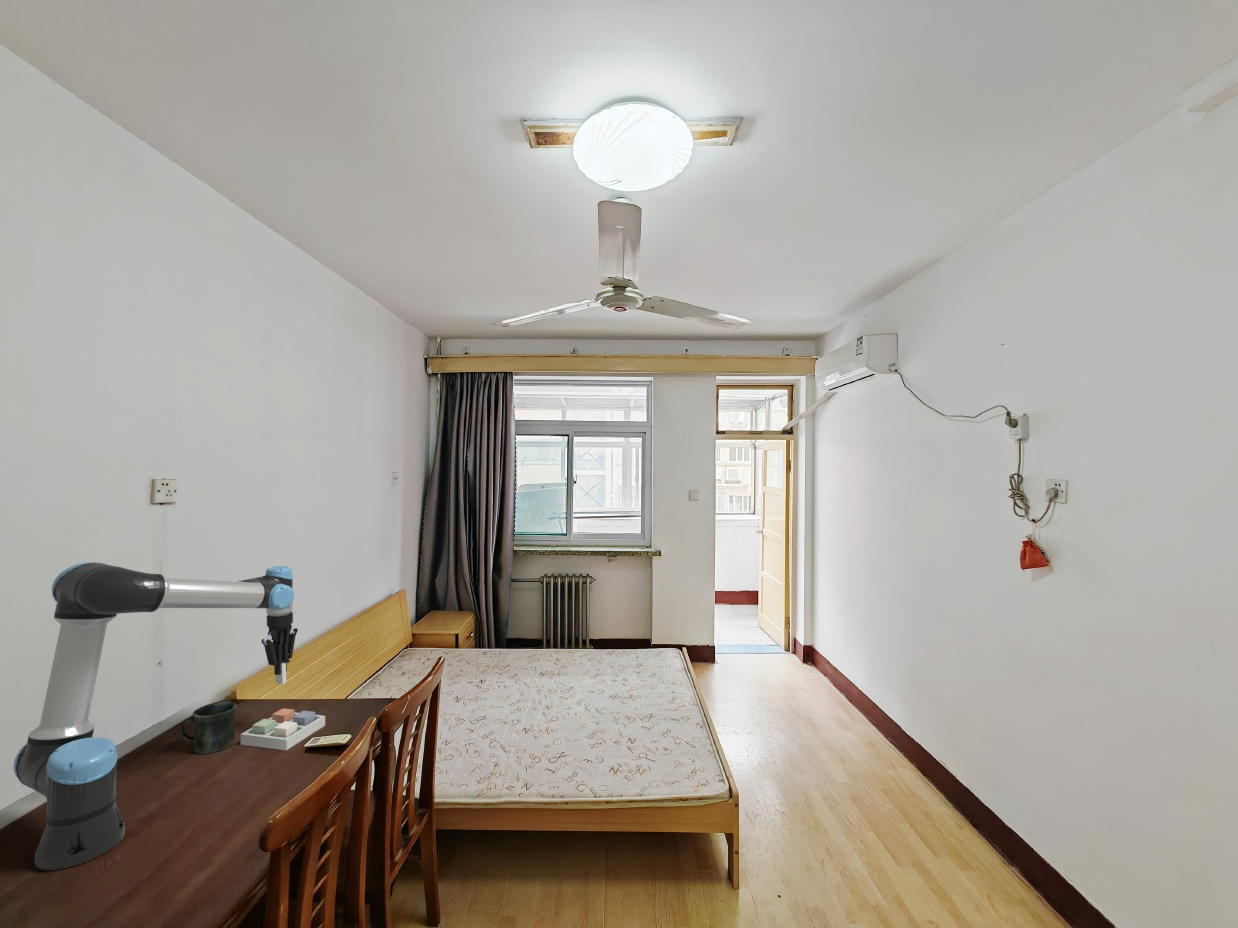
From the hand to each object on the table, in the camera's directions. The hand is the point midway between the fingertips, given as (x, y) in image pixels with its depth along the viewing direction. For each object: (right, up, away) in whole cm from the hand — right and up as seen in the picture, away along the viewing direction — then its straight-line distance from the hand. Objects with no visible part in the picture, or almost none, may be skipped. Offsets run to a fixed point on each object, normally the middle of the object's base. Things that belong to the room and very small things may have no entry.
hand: (280, 682), depth 185 cm
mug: (-17, -17, -10) cm, 26 cm away
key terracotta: (-1, -14, +3) cm, 15 cm away
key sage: (-3, -14, -5) cm, 15 cm away
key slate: (+7, -14, +2) cm, 16 cm away
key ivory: (+5, -14, -6) cm, 16 cm away
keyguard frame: (+2, -17, -2) cm, 17 cm away
